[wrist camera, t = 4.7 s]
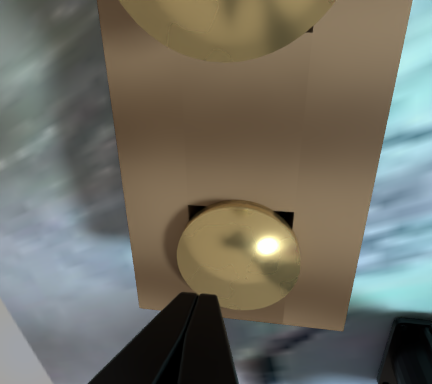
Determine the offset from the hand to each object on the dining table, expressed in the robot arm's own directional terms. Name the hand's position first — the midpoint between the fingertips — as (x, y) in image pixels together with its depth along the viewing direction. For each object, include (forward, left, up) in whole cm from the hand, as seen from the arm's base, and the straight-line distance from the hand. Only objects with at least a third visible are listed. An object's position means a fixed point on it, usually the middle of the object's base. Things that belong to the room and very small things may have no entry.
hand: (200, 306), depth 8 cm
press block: (+2, 0, -13) cm, 13 cm away
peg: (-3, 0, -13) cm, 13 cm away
